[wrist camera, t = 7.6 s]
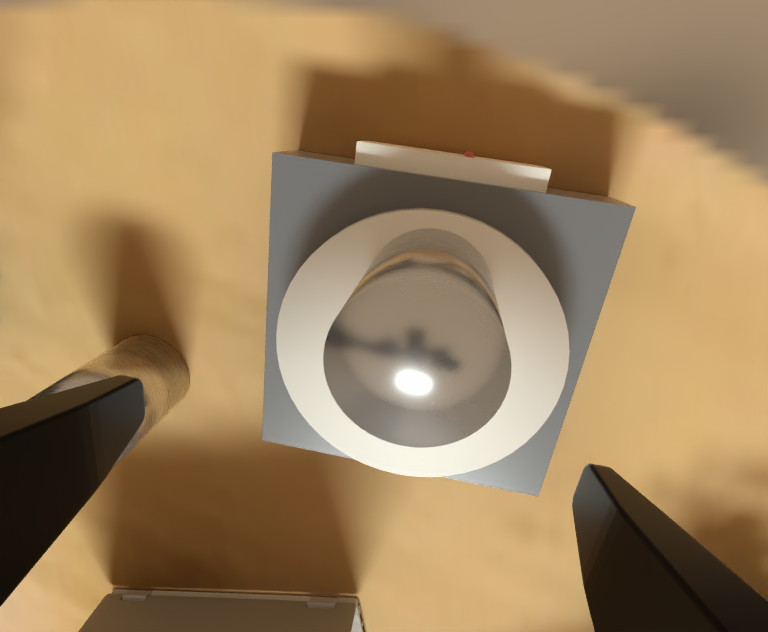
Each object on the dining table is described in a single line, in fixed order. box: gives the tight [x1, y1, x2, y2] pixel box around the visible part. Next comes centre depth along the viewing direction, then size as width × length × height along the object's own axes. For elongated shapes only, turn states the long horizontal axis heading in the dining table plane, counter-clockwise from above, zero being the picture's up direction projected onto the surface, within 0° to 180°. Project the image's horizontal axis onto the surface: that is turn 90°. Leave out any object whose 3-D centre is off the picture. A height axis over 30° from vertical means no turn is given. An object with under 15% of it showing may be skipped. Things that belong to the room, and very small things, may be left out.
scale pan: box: [276, 208, 570, 477], centre depth 18 cm, size 11×11×1 cm
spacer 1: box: [27, 335, 190, 464], centre depth 22 cm, size 4×4×6 cm
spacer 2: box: [323, 228, 512, 448], centre depth 13 cm, size 4×4×6 cm
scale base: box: [262, 141, 636, 496], centre depth 20 cm, size 13×14×3 cm
